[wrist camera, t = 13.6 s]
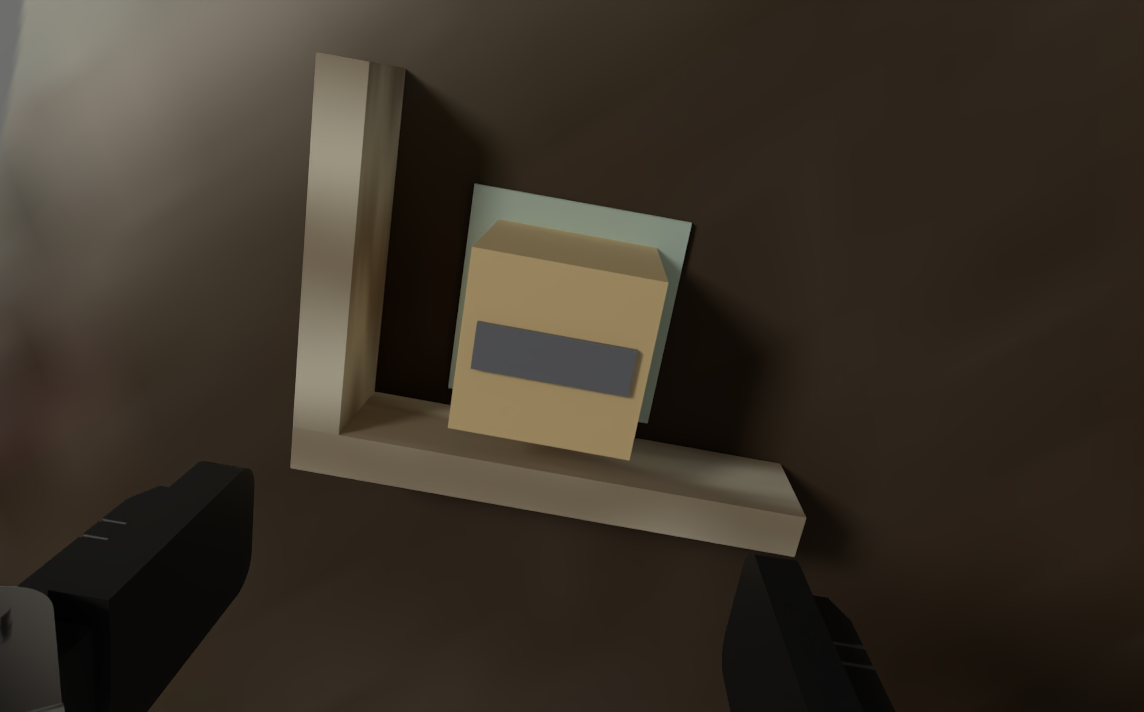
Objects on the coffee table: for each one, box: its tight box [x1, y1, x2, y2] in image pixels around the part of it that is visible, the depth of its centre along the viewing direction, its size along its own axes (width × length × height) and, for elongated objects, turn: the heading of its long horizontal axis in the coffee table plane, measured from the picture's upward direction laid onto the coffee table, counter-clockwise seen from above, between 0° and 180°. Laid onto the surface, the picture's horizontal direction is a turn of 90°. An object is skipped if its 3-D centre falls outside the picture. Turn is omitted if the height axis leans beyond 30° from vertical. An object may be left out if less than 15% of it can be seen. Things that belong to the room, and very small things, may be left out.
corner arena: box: [290, 52, 806, 557], centre depth 25 cm, size 13×17×4 cm
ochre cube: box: [448, 219, 669, 460], centre depth 24 cm, size 6×6×6 cm
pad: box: [448, 183, 692, 423], centre depth 27 cm, size 8×8×1 cm
